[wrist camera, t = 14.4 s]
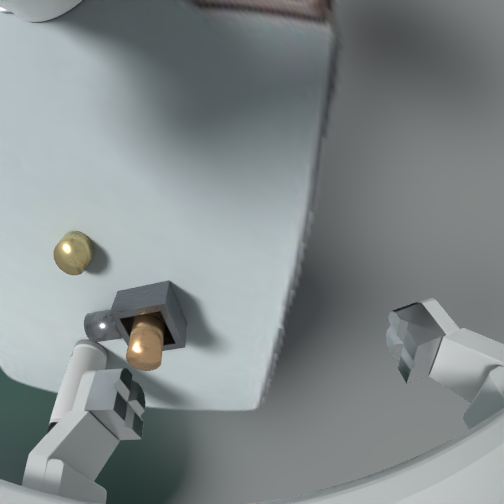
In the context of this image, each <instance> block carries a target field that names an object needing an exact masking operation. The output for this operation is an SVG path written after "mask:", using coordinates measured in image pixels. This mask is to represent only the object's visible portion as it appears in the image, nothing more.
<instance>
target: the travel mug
mask: <svg viewBox="0 0 504 504" xmlns="http://www.w3.org/2000/svg"><path fill="white" fill-rule="evenodd" d="M107 360H108V355H107V352H106V350H105V349H104V348H103V347H102V346H101V345H99V344H98V343H96V342H92V341H90V340H81V341H79V342H77V343H76V345H75V347H74V350H73V353H72V355H71V358H70V361H69V364H68V366H67V369H66V372H65V375H64V378H63V381H62V384H61V387H60V390H59V393H58V396H57V399H56V402H55V406H54V409H53V412H52V416H51V419H50V423H49V429H48V431H47V434H48V433H49V432H50V430H51V429H52V428H53V427H54V426H55V425H56V424H57V423H58V422H59V421H60V420H61V419H62V418H63V416H64V415H65V414H66V413H67V412H68V411H72V409H73V405H74V402H75V398H76V395H77V391H78V388H79V385H80V381H81V378H82V375H83V374H84V373H85V372H86V371H96V370H105V367H106V363H107Z"/></svg>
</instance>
